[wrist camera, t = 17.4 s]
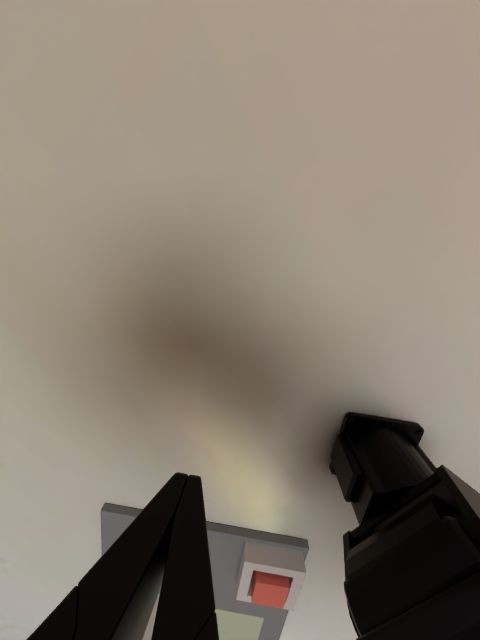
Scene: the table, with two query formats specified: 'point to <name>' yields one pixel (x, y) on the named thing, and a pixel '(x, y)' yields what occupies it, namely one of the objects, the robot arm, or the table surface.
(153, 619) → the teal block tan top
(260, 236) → the table surface
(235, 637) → the picture board
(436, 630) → the robot arm
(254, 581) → the button
